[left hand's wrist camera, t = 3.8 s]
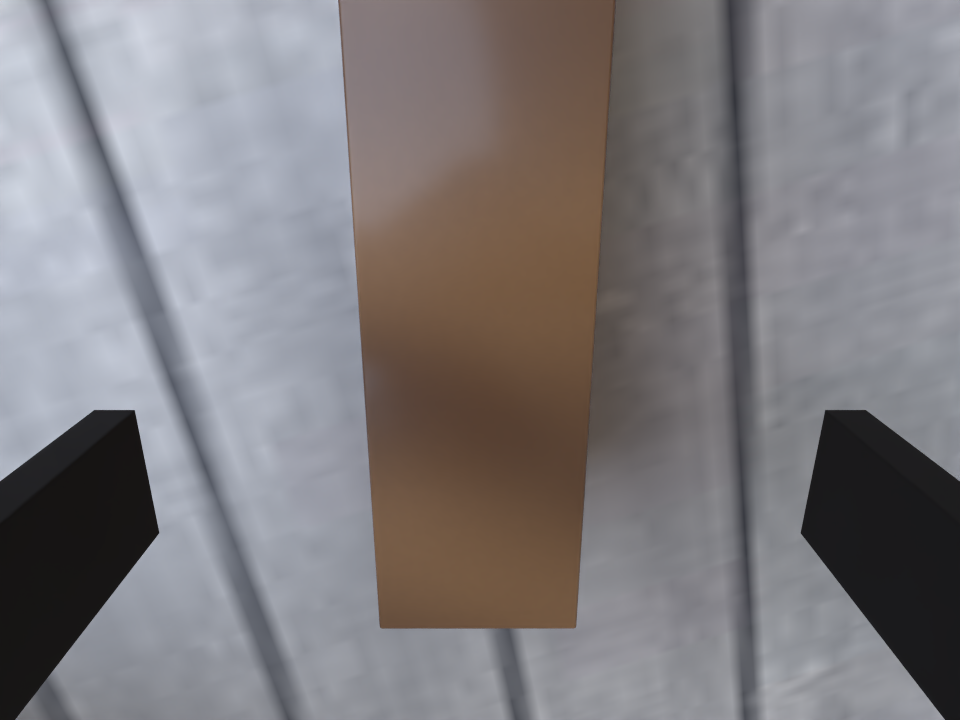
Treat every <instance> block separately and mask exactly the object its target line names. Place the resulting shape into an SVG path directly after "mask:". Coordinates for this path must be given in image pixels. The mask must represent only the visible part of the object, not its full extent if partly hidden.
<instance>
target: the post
mask: <svg viewBox="0 0 960 720" xmlns="http://www.w3.org/2000/svg"><path fill="white" fill-rule="evenodd" d="M338 2H339V17H340V32H341V47H342V62H343V77H344V93H345V108H346V123H347V138H348V153H349V168H350V183H351V198H352V213H353V228H354V244H355V259H356V274H357V289H358V304H359V319H360V334H361V349H362V364H363V380H364V395H365V410H366V425H367V440H368V455H369V470H370V485H371V500H372V515H373V531H374V546H375V561H376V576H377V591H378V606H379V621H380V628H575V627H576V621H577V605H578V589H579V573H580V558H581V542H582V526H583V510H584V495H585V479H586V463H587V447H588V432H589V416H590V400H591V384H592V369H593V353H594V337H595V322H596V306H597V290H598V274H599V259H600V243H601V227H602V211H603V196H604V180H605V164H606V148H607V133H608V117H609V101H610V86H611V70H612V54H613V38H614V23H615V7H616V0H338Z"/></svg>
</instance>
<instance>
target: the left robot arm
mask: <svg viewBox="0 0 960 720" xmlns="http://www.w3.org/2000/svg"><path fill="white" fill-rule="evenodd" d="M158 534H159V529H158V524H157V519H156V514H155V509H154V504H153V500H152V495H151V490H150V485H149V480H148V475H147V470H146V465H145V460H144V455H143V450H142V445H141V440H140V435H139V430H138V425H137V420H136V415H135V410H94V411H93V412H91V413H90V414H89V415H87V416H86V417H85V418H83V419H82V420H81V421H79V422H78V423H77V424H75V425H74V426H73V427H71V428H70V429H69V430H68V431H66V432H65V433H64V434H62V435H61V436H60V437H58V438H57V439H56V440H54V441H53V442H52V443H50V444H49V445H48V446H46V447H45V448H44V449H42V450H41V451H40V452H38V453H37V454H36V455H35V456H33V457H32V458H31V459H29V460H28V461H27V462H25V463H24V464H23V465H21V466H20V467H19V468H17V469H16V470H15V471H13V472H12V473H11V474H9V475H8V476H7V477H5V478H4V479H3V480H2V481H0V720H15V719H16V718H17V716H18V715H19V714H20V713H21V711H22V710H23V709H24V707H25V706H26V705H27V703H28V702H29V701H30V700H31V698H32V697H33V696H34V694H35V693H36V692H37V691H38V689H39V688H40V687H41V685H42V684H43V683H44V681H45V680H46V679H47V678H48V676H49V675H50V674H51V672H52V671H53V670H54V669H55V667H56V666H57V665H58V663H59V662H60V661H61V659H62V658H63V657H64V656H65V654H66V653H67V652H68V650H69V649H70V648H71V647H72V645H73V644H74V643H75V641H76V640H77V639H78V637H79V636H80V635H81V634H82V632H83V631H84V630H85V628H86V627H87V626H88V625H89V623H90V622H91V621H92V619H93V618H94V617H95V615H96V614H97V613H98V612H99V610H100V609H101V608H102V606H103V605H104V604H105V603H106V601H107V600H108V599H109V597H110V596H111V595H112V593H113V592H114V591H115V590H116V588H117V587H118V586H119V584H120V583H121V582H122V581H123V579H124V578H125V577H126V575H127V574H128V573H129V572H130V570H131V569H132V568H133V566H134V565H135V564H136V562H137V561H138V560H139V559H140V557H141V556H142V555H143V553H144V552H145V551H146V550H147V548H148V547H149V546H150V544H151V543H152V542H153V540H154V539H155V538H156V537H157V535H158ZM801 534H802V535H803V537H804V538H805V539H806V540H807V542H808V543H809V544H810V546H811V547H812V548H813V550H814V551H815V552H816V553H817V555H818V556H819V557H820V559H821V560H822V561H823V562H824V564H825V565H826V566H827V568H828V569H829V570H830V572H831V573H832V574H833V575H834V577H835V578H836V579H837V581H838V582H839V583H840V584H841V586H842V587H843V588H844V590H845V591H846V592H847V593H848V595H849V596H850V597H851V599H852V600H853V601H854V603H855V604H856V605H857V606H858V608H859V609H860V610H861V612H862V613H863V614H864V615H865V617H866V618H867V619H868V621H869V622H870V623H871V625H872V626H873V627H874V628H875V630H876V631H877V632H878V634H879V635H880V636H881V637H882V639H883V640H884V641H885V643H886V644H887V645H888V647H889V648H890V649H891V650H892V652H893V653H894V654H895V656H896V657H897V658H898V659H899V661H900V662H901V663H902V665H903V666H904V667H905V669H906V670H907V671H908V672H909V674H910V675H911V676H912V678H913V679H914V680H915V681H916V683H917V684H918V685H919V687H920V688H921V689H922V691H923V692H924V693H925V694H926V696H927V697H928V698H929V700H930V701H931V702H932V703H933V705H934V706H935V707H936V709H937V710H938V711H939V713H940V714H941V715H942V716H943V718H944V719H945V720H960V481H958V480H957V479H956V478H955V477H953V476H952V475H951V474H949V473H948V472H947V471H945V470H944V469H943V468H941V467H940V466H939V465H937V464H936V463H935V462H933V461H932V460H931V459H929V458H928V457H927V456H925V455H924V454H923V453H922V452H920V451H919V450H918V449H916V448H915V447H914V446H912V445H911V444H910V443H908V442H907V441H906V440H904V439H903V438H902V437H900V436H899V435H898V434H896V433H895V432H894V431H892V430H891V429H890V428H889V427H887V426H886V425H885V424H883V423H882V422H881V421H879V420H878V419H877V418H875V417H874V416H873V415H871V414H870V413H869V412H867V411H866V410H825V415H824V420H823V425H822V430H821V435H820V440H819V445H818V450H817V455H816V460H815V465H814V470H813V475H812V480H811V485H810V490H809V495H808V500H807V504H806V509H805V514H804V519H803V524H802V529H801Z"/></svg>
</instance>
